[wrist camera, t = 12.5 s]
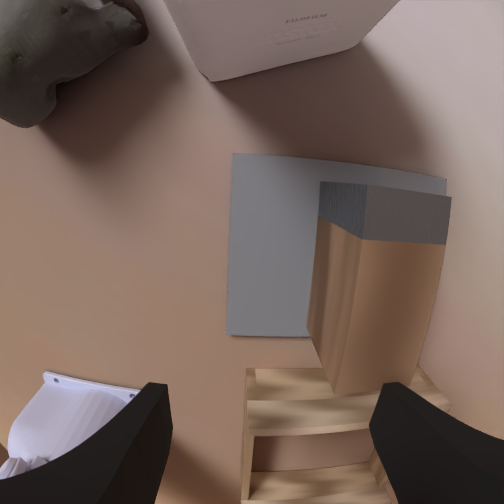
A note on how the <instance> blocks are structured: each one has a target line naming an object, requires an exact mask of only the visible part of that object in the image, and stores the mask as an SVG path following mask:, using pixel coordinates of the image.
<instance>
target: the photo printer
mask: <svg viewBox="0 0 504 504" xmlns="http://www.w3.org/2000/svg"><path fill="white" fill-rule="evenodd" d="M399 1H400V0H164V3H165V5H166V7H167V9H168V11H169V13H170V15H171V17H172V19H173V21H174V23H175V25H176V27H177V29H178V31H179V33H180V35H181V37H182V39H183V41H184V43H185V46H186V48H187V50H188V52H189V54H190V56H191V58H192V60H193V62H194V64H195V66H196V68H197V69H198V70H199V71H200V72H201V73H202V74H204V75H205V76H207V77H208V79H209V81H212V82H213V81H222V80H227V79H232V78H236V77H240V76H244V75H247V74H251V73H255V72H259V71H263V70H267V69H271V68H275V67H279V66H283V65H287V64H291V63H295V62H299V61H303V60H307V59H311V58H316V57H320V56H324V55H329V54H333V53H337V52H341V51H344V50H347V49H349V48H352V47H354V46H356V45H357V44H358V43H359V42H360V41H361V40H362V39H363V38H364V37H365V36H366V35H367V34H368V33H369V32H370V31H371V30H372V29H373V27H374V26H375V25H376V24H377V23H378V22H379V21H380V20H381V19H382V18H383V17H384V16H385V15H386V14H387V13H388V12H389V11H390V10H391V9H392V8H393V7H394V6H395V5H396V4H397V3H398V2H399Z"/></svg>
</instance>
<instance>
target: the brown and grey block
mask: <svg viewBox="0 0 504 504" xmlns="http://www.w3.org/2000/svg"><path fill="white" fill-rule="evenodd" d="M451 198H452V197H448V196H442V195H436V194H430V193H424V192H417V191H411V190H404V189H396V188H389V187H381V186H373V185H364V184H353V183H340V182H326V181H320V194H319V208H318V220H317V232H316V243H315V254H314V264H313V273H312V282H311V291H310V300H309V308H308V316H307V323H306V327H307V330H308V332H309V334H310V337H311V339H312V342H313V344H314V347H315V349H316V351H317V354H318V356H319V359H320V361H321V364H322V366H323V368H324V371H325V373H326V376H327V378H328V381H329V383H330V386H331V388H332V391H333V393H334V395H337V394H350V393H360V392H370V391H379V390H381V389H382V386H383V383H391V382H400V383H401V384H403V385H405V386H406V387H408V386H410V383H411V381H412V378H413V375H414V372H415V369H416V366H417V363H418V360H419V357H420V354H421V351H422V347H423V344H424V341H425V337H426V334H427V330H428V326H429V323H430V319H431V315H432V311H433V307H434V303H435V299H436V294H437V290H438V285H439V280H440V275H441V270H442V265H443V259H444V253H445V247H446V240H447V233H448V226H449V218H450V208H451Z"/></svg>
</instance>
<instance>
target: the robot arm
mask: <svg viewBox="0 0 504 504" xmlns="http://www.w3.org/2000/svg"><path fill="white" fill-rule="evenodd" d="M43 378H44V381H45V383H44V384H43V386H42V387H41V388H40V389H39V391H38V392H37V393H36V394H35V395H34V397H33V398H32V399H31V400H30V402H29V403H28V404H27V406H26V407H25V408H24V409H23V411H22V412H21V413H20V414H19V416H18V417H17V418H16V420H15V421H14V423H13V425H12V427H11V430H10V433H9V438H8V452H9V456H10V458H9V459H8V460H7V461H6V462H5V463H4V464H3V465H2V467H1V468H0V504H154V503H155V500H156V496H157V493H158V489H159V486H160V482H161V479H162V475H163V472H164V468H165V465H166V462H167V458H168V454H169V450H170V444H171V437H172V430H173V425H172V418H171V410H170V403H169V395H168V386H167V384H160V383H151V382H149V383H148V384H146V385H145V386H144V387H143V388H142V390H138V389H132V388H125V387H119V386H113V385H107V384H102V383H97V382H92V381H87V380H82V379H77V378H73V377H68V376H64V375H60V374H56V373H52V372H48V371H46V372H44V374H43ZM57 379H58V380H57ZM132 394H134V395H135V396H133V395H132ZM369 428H370V432H371V436H372V439H373V443H374V446H375V449H376V451H377V454H378V456H379V458H380V461H381V463H382V465H383V467H384V469H385V472H386V474H387V476H388V478H389V481H390V483H391V485H392V487H393V490H394V492H395V495H396V497H397V500H398V503H399V504H504V440H502V439H498V438H496V437H493V436H490V435H488V434H485V433H483V432H481V431H479V430H476V429H474V428H472V427H470V426H468V425H466V424H464V423H463V422H461V421H459V420H457V419H456V418H454V417H452V416H450V415H449V414H447V413H446V412H444V411H442V410H441V409H439V408H438V407H436V406H435V405H433V404H432V403H430V402H429V401H427V400H426V399H424V398H423V397H421V396H420V395H418V394H417V393H415V392H414V391H412V390H411V389H409V388H408V387H406V386H405V385H403V384H401V383H400V382H391V383H383V386H382V389H381V392H380V395H379V398H378V400H377V403H376V406H375V409H374V412H373V415H372V417H371V420H370V423H369Z"/></svg>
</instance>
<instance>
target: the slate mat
mask: <svg viewBox="0 0 504 504" xmlns="http://www.w3.org/2000/svg"><path fill="white" fill-rule="evenodd" d="M320 181H326V182H340V183H353V184H364V185H373V186H381V187H389V188H396V189H404V190H411V191H417V192H424V193H430V194H436V195H442V196H445V195H446V183H447V179H444V178H440V177H434V176H429V175H424V174H419V173H413V172H408V171H402V170H396V169H389V168H383V167H376V166H369V165H362V164H355V163H347V162H338V161H330V160H320V159H310V158H300V157H288V156H274V155H258V154H239V153H233V167H232V187H231V209H230V233H229V260H228V291H227V330H226V335H240V336H280V337H310V334H309V332H308V330H307V327H306V323H307V316H308V308H309V300H310V291H311V282H312V273H313V264H314V254H315V243H316V232H317V220H318V208H319V194H320Z"/></svg>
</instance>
